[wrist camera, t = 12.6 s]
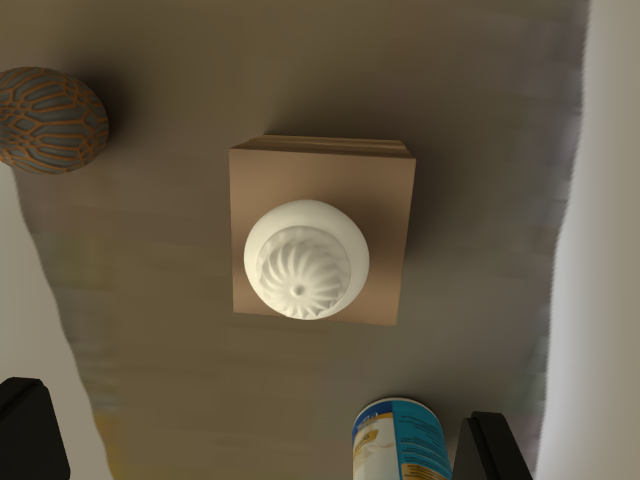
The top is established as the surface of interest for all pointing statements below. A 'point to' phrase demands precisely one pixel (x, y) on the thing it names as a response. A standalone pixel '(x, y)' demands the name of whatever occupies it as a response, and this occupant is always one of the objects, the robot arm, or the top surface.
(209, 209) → the top surface
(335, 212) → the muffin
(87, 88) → the vase
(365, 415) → the beverage bottle
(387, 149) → the tower top
